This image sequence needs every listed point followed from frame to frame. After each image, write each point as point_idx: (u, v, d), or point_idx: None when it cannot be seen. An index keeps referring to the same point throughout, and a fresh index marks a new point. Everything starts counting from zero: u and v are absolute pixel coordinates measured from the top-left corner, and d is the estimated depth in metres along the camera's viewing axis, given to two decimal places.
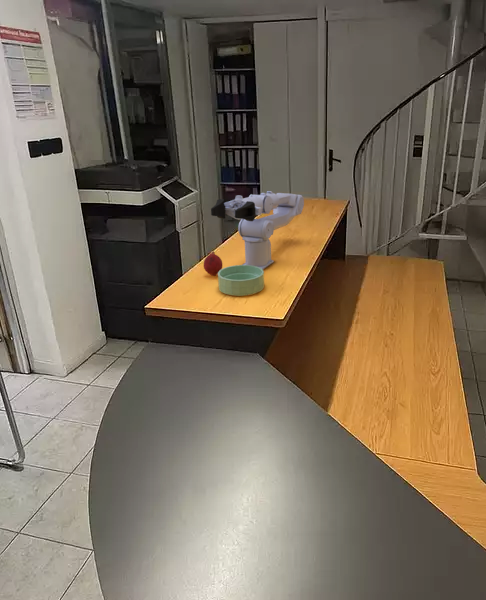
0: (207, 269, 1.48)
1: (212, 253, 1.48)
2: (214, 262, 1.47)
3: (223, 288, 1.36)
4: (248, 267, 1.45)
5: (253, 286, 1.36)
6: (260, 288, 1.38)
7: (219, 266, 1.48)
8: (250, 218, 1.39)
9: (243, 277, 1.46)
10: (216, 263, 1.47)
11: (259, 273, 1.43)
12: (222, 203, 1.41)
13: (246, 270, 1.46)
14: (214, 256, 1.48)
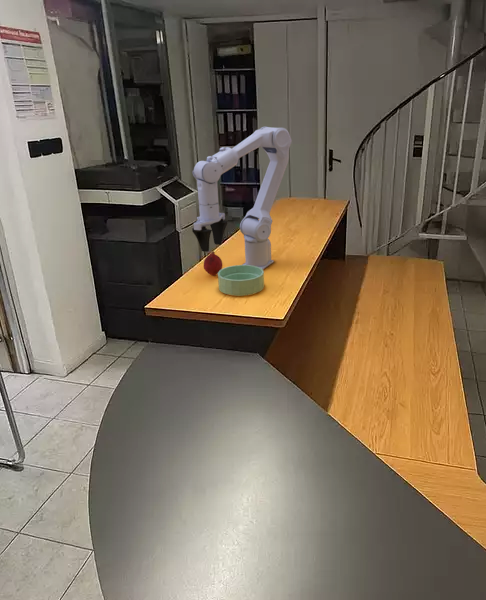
0: (207, 269, 1.48)
1: (212, 253, 1.48)
2: (214, 262, 1.47)
3: (223, 288, 1.36)
4: (248, 267, 1.45)
5: (253, 286, 1.36)
6: (260, 288, 1.38)
7: (219, 266, 1.48)
8: (205, 235, 1.40)
9: (243, 277, 1.46)
10: (216, 263, 1.47)
11: (259, 273, 1.43)
12: (211, 226, 1.49)
13: (246, 270, 1.46)
14: (214, 256, 1.48)
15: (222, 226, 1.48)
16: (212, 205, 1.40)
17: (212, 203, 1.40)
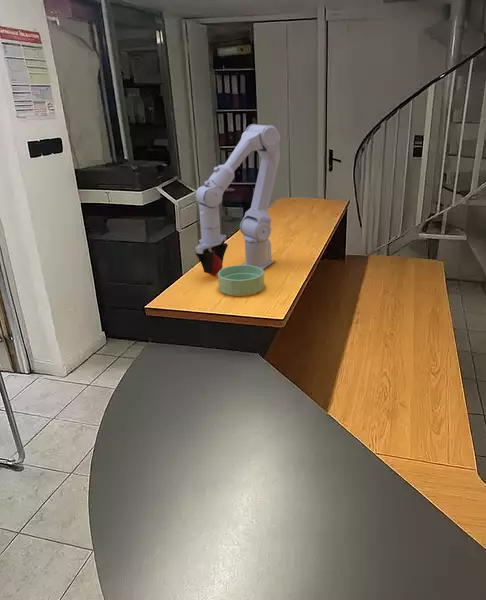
0: None
1: None
2: (214, 262, 1.47)
3: (223, 288, 1.36)
4: (248, 267, 1.45)
5: (253, 286, 1.36)
6: (260, 288, 1.38)
7: (219, 266, 1.48)
8: (208, 258, 1.44)
9: (243, 277, 1.46)
10: (216, 263, 1.47)
11: (259, 273, 1.43)
12: (212, 248, 1.52)
13: (246, 270, 1.46)
14: (214, 256, 1.48)
15: (222, 249, 1.50)
16: (214, 229, 1.43)
17: (214, 227, 1.43)
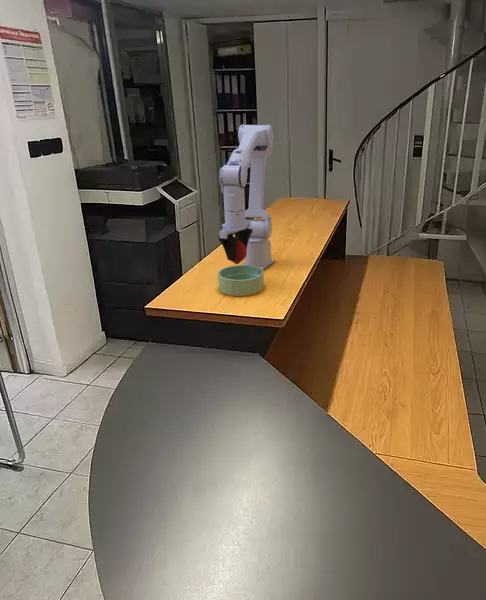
0: None
1: None
2: (238, 248, 1.36)
3: (223, 288, 1.36)
4: (248, 267, 1.45)
5: (253, 286, 1.36)
6: (260, 288, 1.38)
7: (243, 253, 1.37)
8: (233, 243, 1.32)
9: (243, 277, 1.46)
10: (240, 249, 1.36)
11: (259, 273, 1.43)
12: (235, 234, 1.40)
13: (246, 270, 1.46)
14: (238, 242, 1.36)
15: (247, 234, 1.38)
16: (239, 212, 1.31)
17: (244, 208, 1.33)
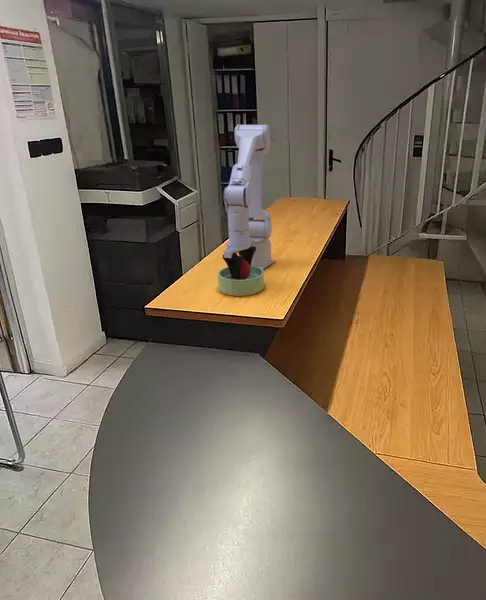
0: None
1: None
2: (242, 267, 1.37)
3: (223, 288, 1.36)
4: None
5: (253, 286, 1.36)
6: (260, 288, 1.38)
7: (247, 271, 1.38)
8: (237, 262, 1.33)
9: None
10: (244, 268, 1.37)
11: (259, 273, 1.43)
12: (239, 252, 1.41)
13: None
14: (242, 260, 1.37)
15: (251, 252, 1.39)
16: (243, 231, 1.32)
17: (248, 227, 1.34)
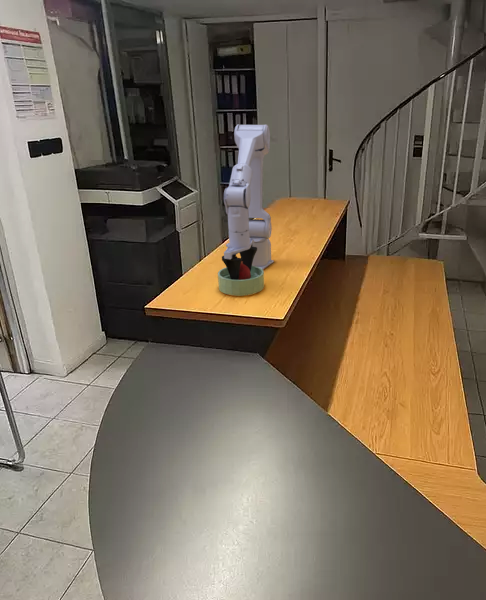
0: None
1: None
2: (243, 272, 1.37)
3: (223, 288, 1.36)
4: None
5: (253, 286, 1.36)
6: (260, 288, 1.38)
7: (247, 277, 1.38)
8: (236, 264, 1.33)
9: None
10: (244, 273, 1.37)
11: (259, 273, 1.43)
12: (240, 252, 1.42)
13: None
14: (242, 266, 1.38)
15: (252, 253, 1.40)
16: (243, 232, 1.33)
17: (248, 228, 1.34)
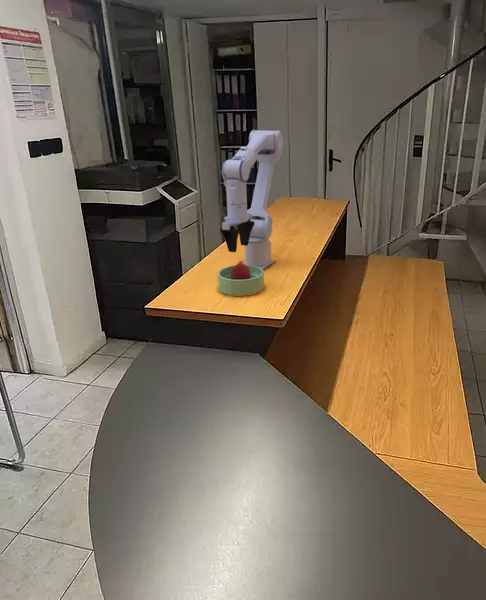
0: None
1: (240, 262, 1.38)
2: (243, 272, 1.37)
3: (223, 288, 1.36)
4: (248, 267, 1.45)
5: (253, 286, 1.36)
6: (260, 288, 1.38)
7: (247, 277, 1.38)
8: (234, 235, 1.37)
9: None
10: (244, 273, 1.37)
11: (259, 273, 1.43)
12: (238, 226, 1.46)
13: None
14: (242, 266, 1.38)
15: (249, 226, 1.45)
16: (241, 204, 1.37)
17: (245, 202, 1.38)
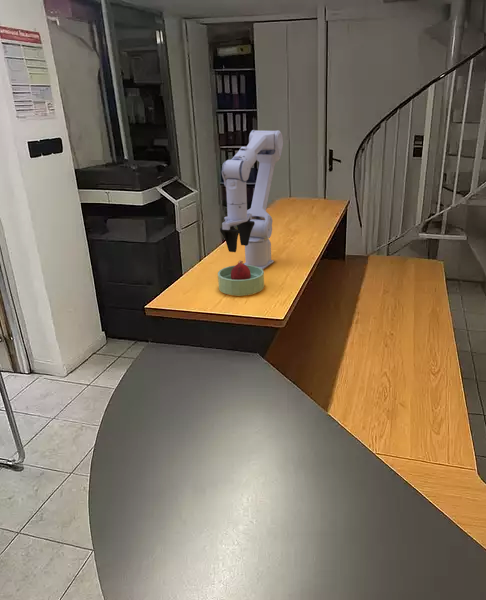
0: None
1: (240, 262, 1.38)
2: (243, 272, 1.37)
3: (223, 288, 1.36)
4: (248, 267, 1.45)
5: (253, 286, 1.36)
6: (260, 288, 1.38)
7: (247, 277, 1.38)
8: (234, 235, 1.37)
9: None
10: (244, 273, 1.37)
11: (259, 273, 1.43)
12: (238, 226, 1.46)
13: None
14: (242, 266, 1.38)
15: (249, 226, 1.45)
16: (241, 204, 1.37)
17: (245, 202, 1.38)
